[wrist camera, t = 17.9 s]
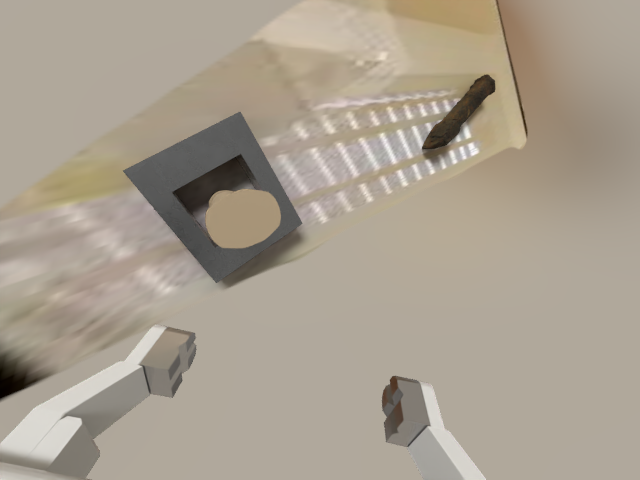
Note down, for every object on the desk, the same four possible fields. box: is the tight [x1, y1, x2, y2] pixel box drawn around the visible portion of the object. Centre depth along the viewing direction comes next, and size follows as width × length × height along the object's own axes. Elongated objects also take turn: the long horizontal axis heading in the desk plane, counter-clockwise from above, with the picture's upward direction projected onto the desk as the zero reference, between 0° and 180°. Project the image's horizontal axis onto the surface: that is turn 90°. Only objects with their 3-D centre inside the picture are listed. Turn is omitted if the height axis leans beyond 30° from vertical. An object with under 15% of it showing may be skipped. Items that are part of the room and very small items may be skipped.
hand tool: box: [422, 75, 495, 149], centre depth 50 cm, size 19×4×5 cm, turn 129°
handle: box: [205, 189, 281, 248], centre depth 29 cm, size 5×6×15 cm
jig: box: [123, 112, 302, 283], centre depth 34 cm, size 14×16×4 cm
